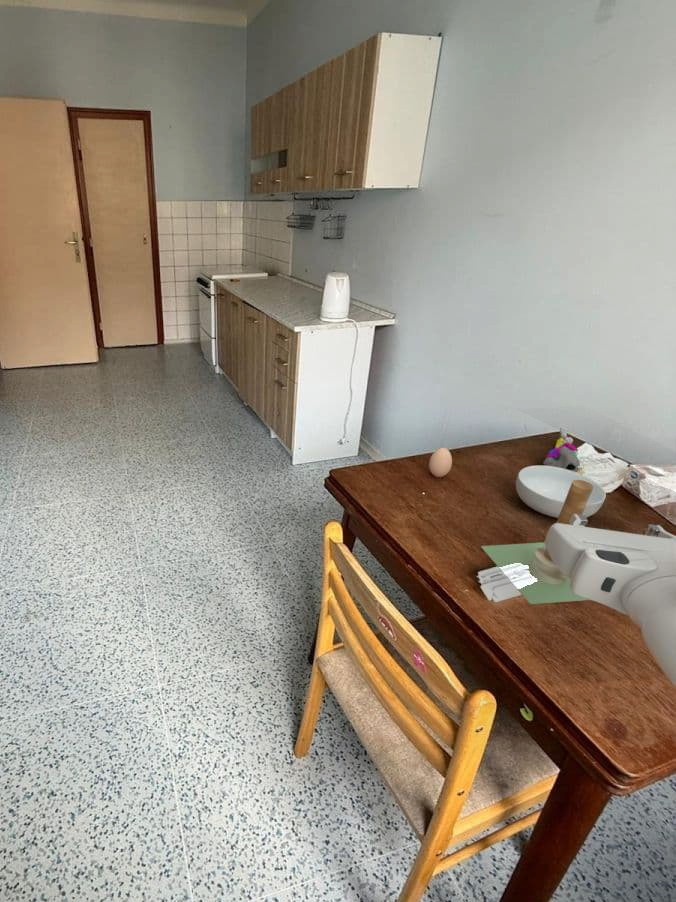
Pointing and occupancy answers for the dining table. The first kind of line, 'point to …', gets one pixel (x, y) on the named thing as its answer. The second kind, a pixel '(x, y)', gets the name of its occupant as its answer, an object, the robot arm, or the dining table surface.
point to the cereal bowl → (554, 489)
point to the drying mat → (539, 589)
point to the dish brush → (573, 504)
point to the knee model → (564, 455)
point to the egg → (440, 462)
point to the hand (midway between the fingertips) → (612, 523)
